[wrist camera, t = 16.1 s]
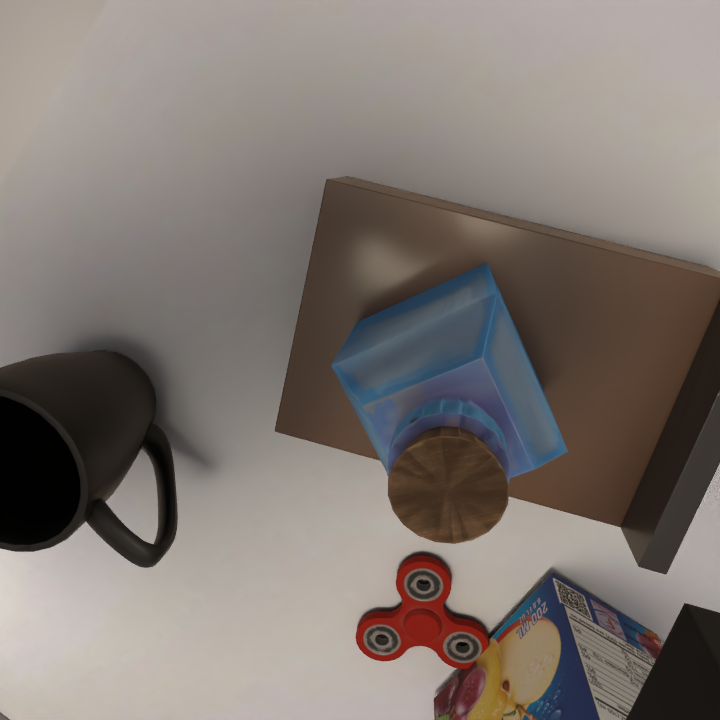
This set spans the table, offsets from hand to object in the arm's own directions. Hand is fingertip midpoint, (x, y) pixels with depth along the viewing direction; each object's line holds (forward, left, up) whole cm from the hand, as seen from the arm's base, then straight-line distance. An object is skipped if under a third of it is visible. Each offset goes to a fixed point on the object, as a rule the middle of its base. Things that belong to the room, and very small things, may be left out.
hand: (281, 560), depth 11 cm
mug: (-13, -11, -23) cm, 29 cm away
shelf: (+5, -1, -23) cm, 23 cm away
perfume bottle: (+3, -1, -18) cm, 18 cm away
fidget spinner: (+7, -19, -23) cm, 31 cm away
